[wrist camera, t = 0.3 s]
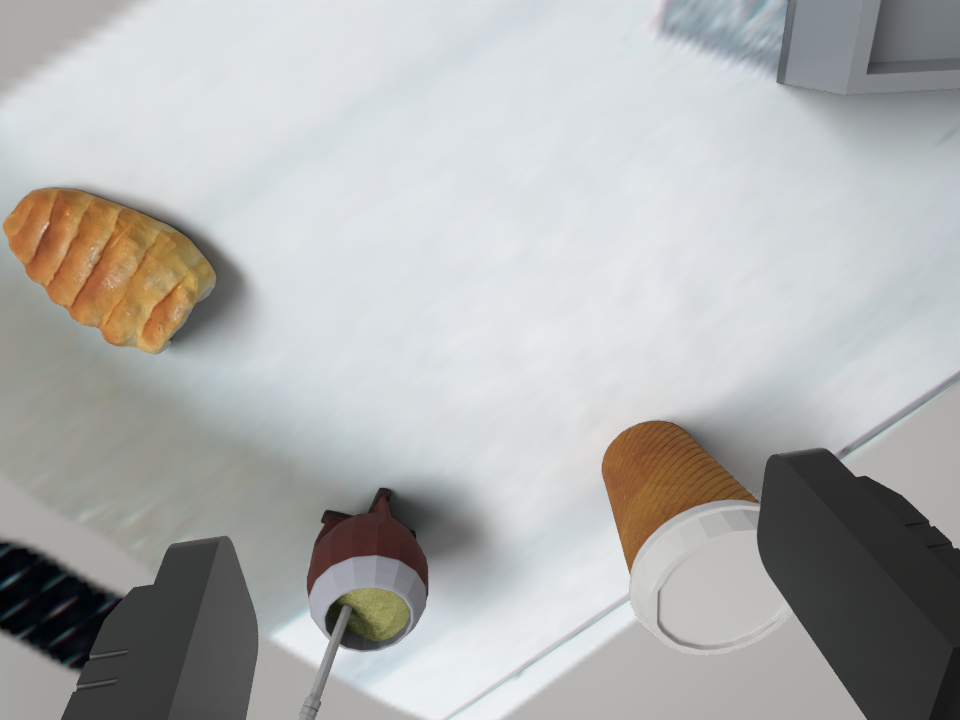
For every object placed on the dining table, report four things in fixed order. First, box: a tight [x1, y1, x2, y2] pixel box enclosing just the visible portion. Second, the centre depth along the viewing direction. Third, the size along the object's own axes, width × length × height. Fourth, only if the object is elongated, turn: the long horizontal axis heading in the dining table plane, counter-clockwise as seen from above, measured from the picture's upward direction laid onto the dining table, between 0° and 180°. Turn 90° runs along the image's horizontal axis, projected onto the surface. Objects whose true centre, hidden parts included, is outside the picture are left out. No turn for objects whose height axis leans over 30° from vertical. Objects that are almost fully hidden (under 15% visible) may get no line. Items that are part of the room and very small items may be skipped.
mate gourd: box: [299, 488, 428, 720], centre depth 39 cm, size 8×8×15 cm
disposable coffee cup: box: [602, 421, 793, 655], centre depth 41 cm, size 10×10×12 cm
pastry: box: [3, 188, 216, 354], centre depth 34 cm, size 9×7×4 cm
